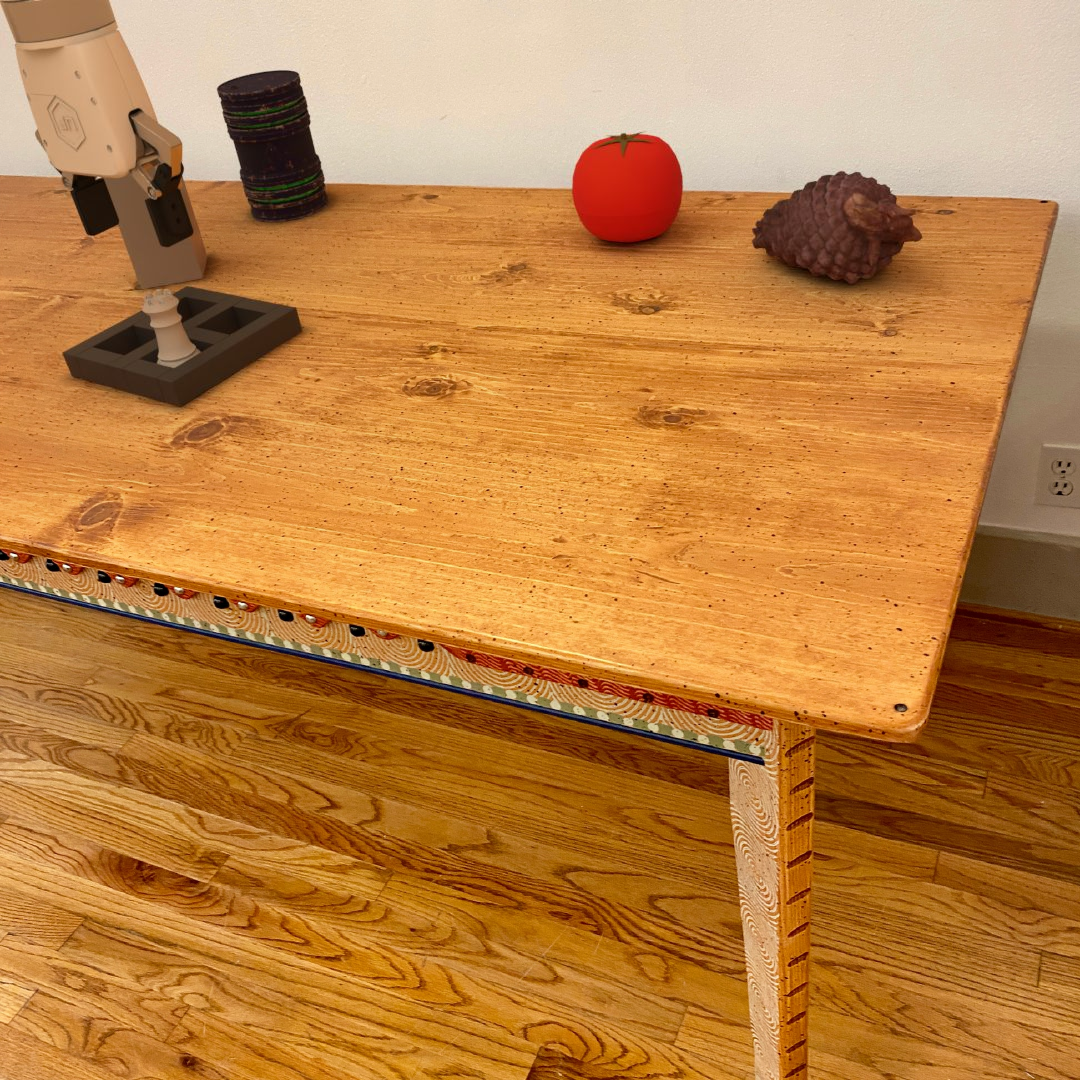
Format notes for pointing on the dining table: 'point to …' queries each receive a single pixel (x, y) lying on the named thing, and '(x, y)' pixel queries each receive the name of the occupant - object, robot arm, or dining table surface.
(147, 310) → the rook chess piece
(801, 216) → the pine cone
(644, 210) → the tomato
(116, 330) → the holder
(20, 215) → the dining table surface
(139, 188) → the perfume bottle
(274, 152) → the dark purple cylinder
